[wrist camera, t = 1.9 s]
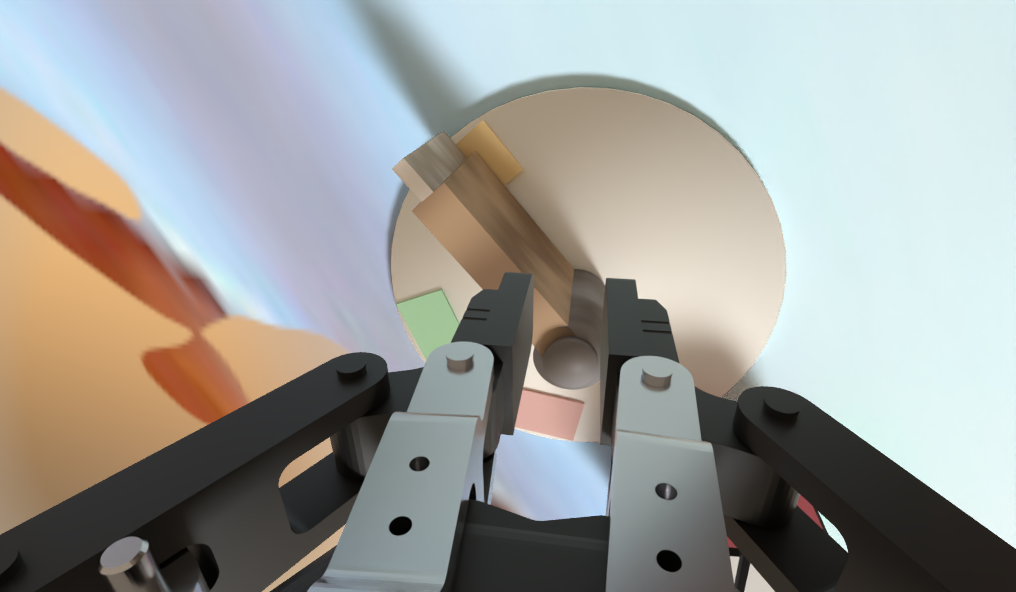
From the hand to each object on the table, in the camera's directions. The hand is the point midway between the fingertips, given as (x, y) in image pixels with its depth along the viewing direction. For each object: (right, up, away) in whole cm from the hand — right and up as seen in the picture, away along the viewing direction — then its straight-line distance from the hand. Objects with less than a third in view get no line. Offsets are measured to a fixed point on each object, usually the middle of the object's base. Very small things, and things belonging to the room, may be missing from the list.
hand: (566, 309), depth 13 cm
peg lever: (-1, +4, +18) cm, 19 cm away
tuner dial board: (+3, +1, +21) cm, 21 cm away
